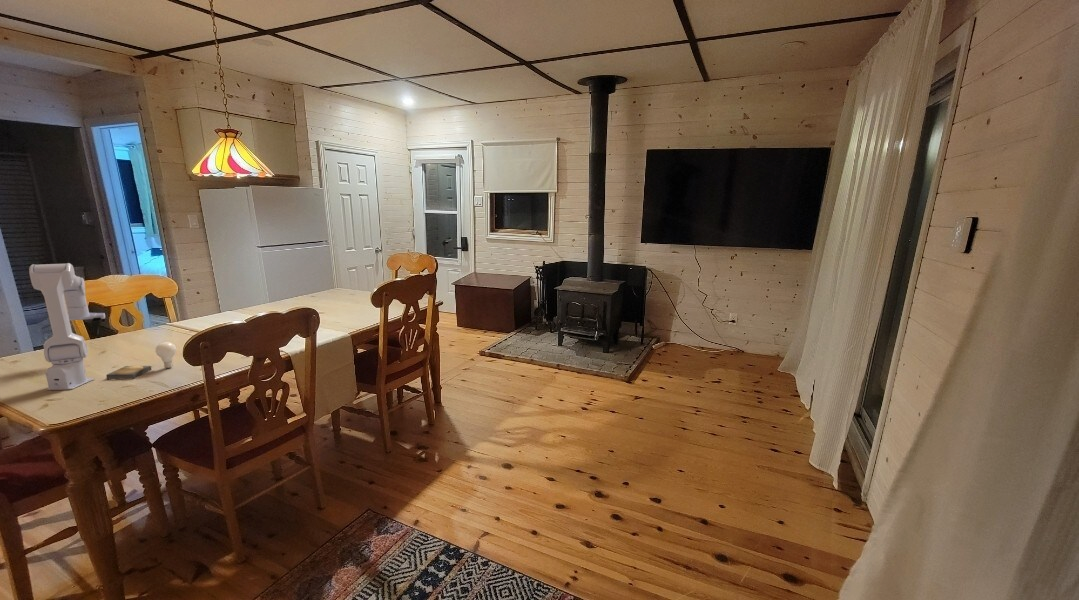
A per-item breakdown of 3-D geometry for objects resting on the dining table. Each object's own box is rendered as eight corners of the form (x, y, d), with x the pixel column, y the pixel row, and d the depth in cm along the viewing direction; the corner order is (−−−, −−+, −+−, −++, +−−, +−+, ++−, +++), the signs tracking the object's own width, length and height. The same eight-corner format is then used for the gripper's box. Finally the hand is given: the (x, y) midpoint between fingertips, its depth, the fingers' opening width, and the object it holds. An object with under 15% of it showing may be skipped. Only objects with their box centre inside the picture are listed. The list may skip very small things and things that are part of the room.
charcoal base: (133, 378, 162) (132, 373, 161) (107, 379, 160) (106, 374, 160) (151, 370, 170) (150, 365, 170) (126, 370, 169) (125, 365, 169)
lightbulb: (181, 367, 174) (177, 342, 172) (161, 372, 169) (157, 345, 166) (175, 364, 177) (172, 338, 175) (156, 368, 172) (152, 342, 170)
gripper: (104, 300, 179) (110, 330, 184) (54, 303, 171) (62, 334, 176) (100, 306, 174) (106, 336, 178) (48, 309, 166) (56, 340, 170)
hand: (84, 335), depth 177 cm, fingers open, 7 cm apart
